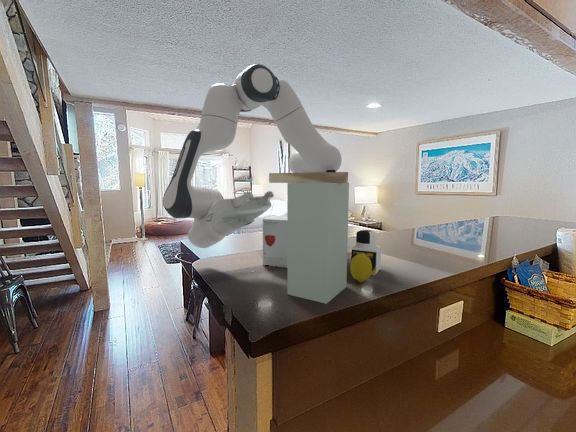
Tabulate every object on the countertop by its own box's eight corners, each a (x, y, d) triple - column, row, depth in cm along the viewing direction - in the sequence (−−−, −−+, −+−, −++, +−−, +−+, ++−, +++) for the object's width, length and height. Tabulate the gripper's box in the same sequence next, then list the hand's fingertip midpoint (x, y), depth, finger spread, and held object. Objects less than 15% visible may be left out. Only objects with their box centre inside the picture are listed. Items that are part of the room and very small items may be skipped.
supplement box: (261, 265, 92) (261, 218, 90) (271, 258, 100) (271, 215, 98) (289, 268, 89) (289, 219, 87) (297, 260, 97) (297, 216, 96)
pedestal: (311, 279, 79) (312, 182, 75) (346, 286, 73) (349, 182, 70) (287, 294, 68) (287, 183, 65) (326, 303, 63) (328, 183, 60)
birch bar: (274, 182, 76) (274, 173, 76) (347, 183, 65) (348, 172, 65) (269, 182, 74) (269, 173, 74) (343, 183, 63) (344, 171, 63)
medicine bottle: (350, 272, 85) (351, 231, 84) (357, 265, 92) (358, 228, 90) (375, 275, 82) (377, 233, 81) (380, 269, 88) (381, 229, 87)
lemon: (345, 280, 78) (346, 251, 77) (363, 278, 80) (364, 249, 79) (357, 287, 73) (358, 256, 72) (376, 284, 75) (377, 254, 74)
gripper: (195, 210, 76) (228, 184, 69) (246, 205, 93) (277, 183, 86) (205, 232, 75) (239, 208, 68) (254, 222, 92) (286, 202, 85)
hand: (261, 194), depth 77 cm, fingers open, 8 cm apart
